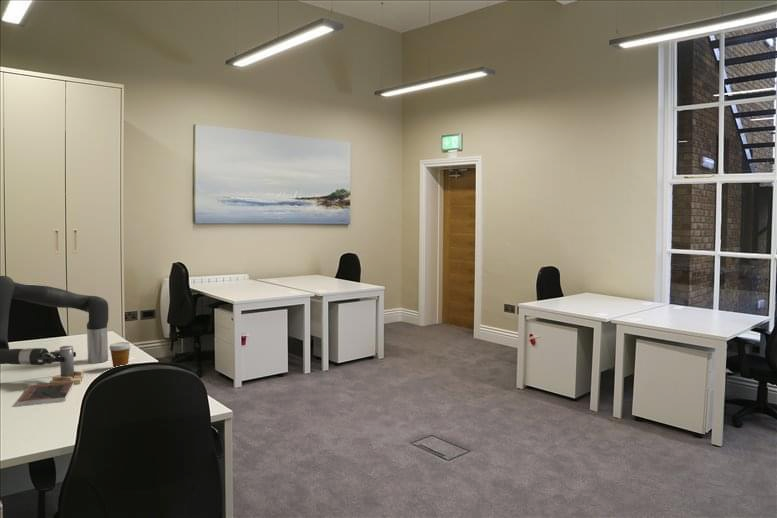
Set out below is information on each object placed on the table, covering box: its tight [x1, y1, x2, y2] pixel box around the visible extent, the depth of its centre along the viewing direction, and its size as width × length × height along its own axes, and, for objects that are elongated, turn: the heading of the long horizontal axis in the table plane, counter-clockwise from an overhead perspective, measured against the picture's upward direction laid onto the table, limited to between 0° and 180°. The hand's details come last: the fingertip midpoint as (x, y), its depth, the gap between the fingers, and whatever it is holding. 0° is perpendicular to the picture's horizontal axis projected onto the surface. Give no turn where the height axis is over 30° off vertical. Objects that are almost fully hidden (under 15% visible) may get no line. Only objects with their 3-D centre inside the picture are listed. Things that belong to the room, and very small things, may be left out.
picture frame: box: [16, 382, 75, 407], centre depth 230 cm, size 16×2×22 cm
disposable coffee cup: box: [108, 341, 132, 367], centre depth 271 cm, size 10×10×12 cm
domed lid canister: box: [59, 345, 75, 378], centre depth 248 cm, size 5×5×14 cm
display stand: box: [50, 370, 84, 386], centre depth 248 cm, size 12×11×4 cm
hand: (70, 356), depth 248 cm, fingers open, 8 cm apart
